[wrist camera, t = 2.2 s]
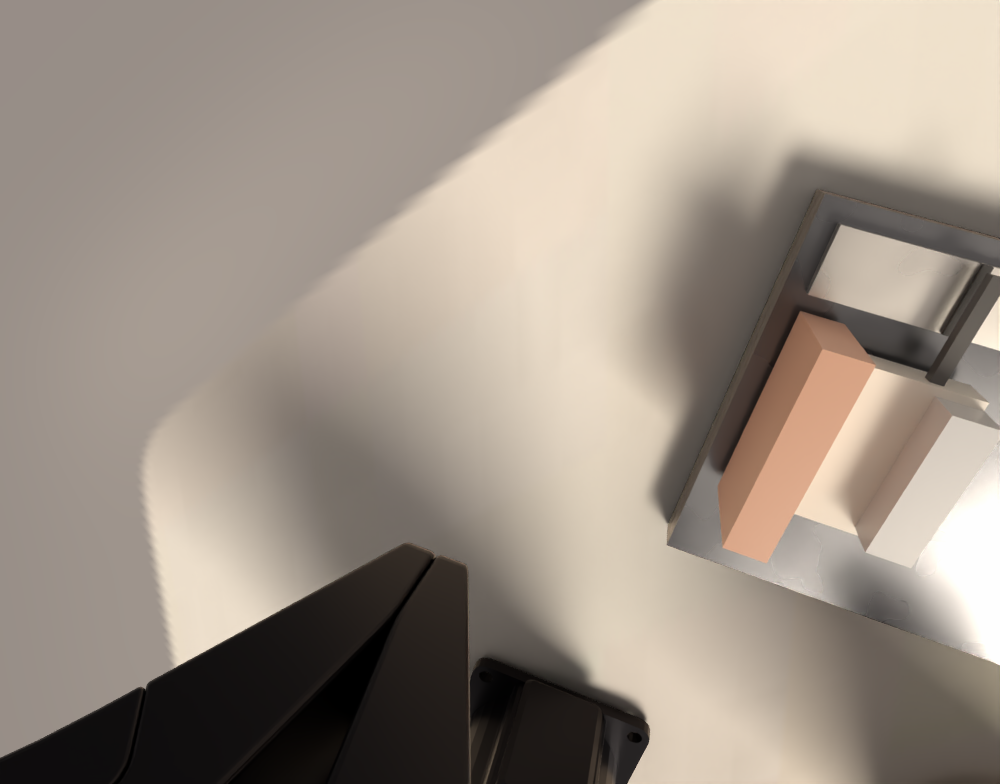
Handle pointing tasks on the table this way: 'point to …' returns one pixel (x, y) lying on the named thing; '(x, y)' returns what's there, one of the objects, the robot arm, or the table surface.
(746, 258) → the table surface
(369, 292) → the table surface
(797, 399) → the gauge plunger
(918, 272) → the frame
